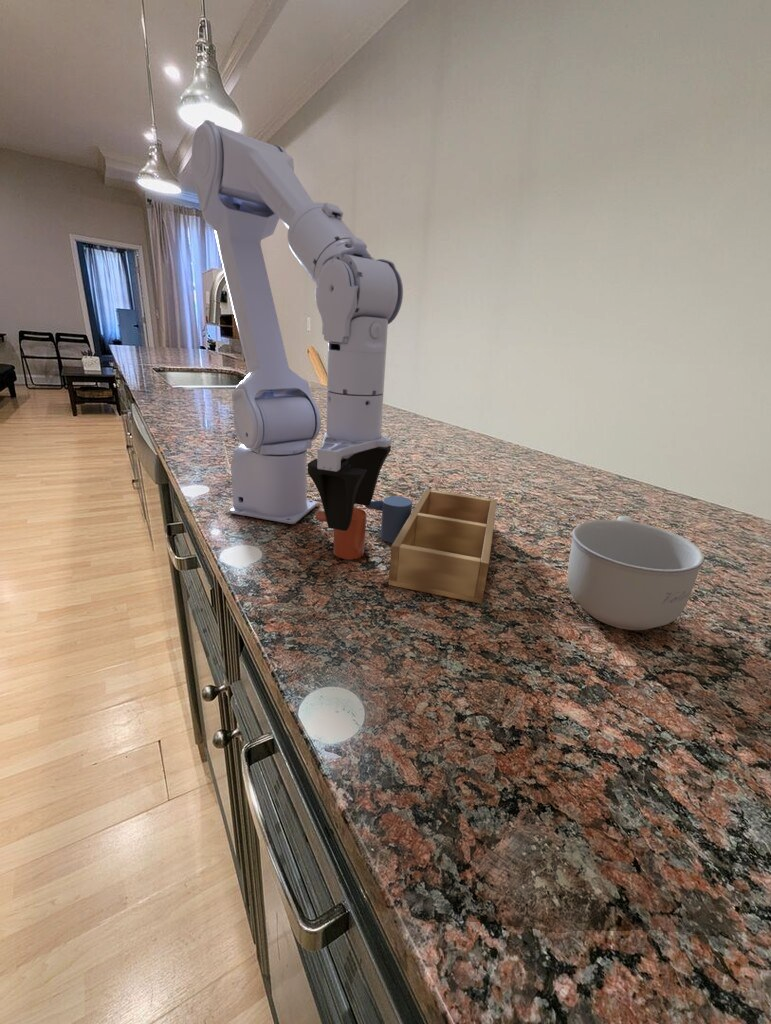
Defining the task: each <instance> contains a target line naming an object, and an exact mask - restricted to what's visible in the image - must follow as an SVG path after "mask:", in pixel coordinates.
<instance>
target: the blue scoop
mask: <svg viewBox="0 0 771 1024" xmlns="http://www.w3.org/2000/svg"><path fill="white" fill-rule="evenodd" d="M364 507H365V509H368V510H375V511H379V512H381V521H380V522H381V523H380V535H379V536H380V539H381V540H382V541H383V542H385V543H388V544H393V542H394V541H395V539H396V537H397V536H398V534H399V533H400V531H401V529H402V528H403V526H404V524H405V523H406V521H407V519H408V518H409V516H410V514H411V513H412V510H413V509H412V508H413V501H412V500H411V499H410V498H408V497H405V496H400V495H390V496H386V497H384V498H383V499H382V500H377V499H372V500H371V503H370V505H369V506H365V505H364Z"/></svg>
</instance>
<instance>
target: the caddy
mask: <svg viewBox="0 0 771 1024" xmlns="http://www.w3.org/2000/svg"><path fill="white" fill-rule="evenodd" d="M497 504H498V499H493V498H487V497H481V496H473V495H468V494H460V493H453V492H448V491H441V490H434V489H426V488H425V490H424V491H423V493H422V494H421V496H420V498H419V499H418V500H417V503H416V504H415V506H414V508H413V509H412V510H411V514H410V516H409V518H408V519H407V521H406V523H405V524H404V526H403V528H402V529H401V531H400V533H399V534H398V536H397V537H396V539H395V541H394V542H393V543H391V547H390V558H389V559H390V560H389V574H388V585H389V586H392V587H393V586H394V587H398V588H401V589H408V590H412V591H417V592H422V593H426V594H431V595H437V596H442V597H445V598H449V599H456V600H461V601H465V602H470V603H475V604H479V605H482V604H483V601H484V595H485V589H486V582H487V577H488V571H489V566H490V560H491V559H490V558H491V552H492V551H491V550H492V544H493V537H494V536H493V535H494V529H495V521H496V520H495V519H496V511H497Z"/></svg>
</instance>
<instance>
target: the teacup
mask: <svg viewBox="0 0 771 1024" xmlns="http://www.w3.org/2000/svg"><path fill="white" fill-rule="evenodd" d="M571 538H572V540H571V546H570V550H569V557H568V562H567V574H566V580H567V586H568V590H569V592H570V595H571V597H572V598H573V599H574V600H575V602H576V603H577V604H578V605H579V606H580V607H582V608H583V610H584V611H585V612H586V613H587V614H588V615H590V617H592V618H594V619H596V620H597V621H599V622H601V623H603V624H605V625H608V626H611V627H613V628H617V629H621V630H626V631H646V630H649V629H655V628H659V627H663V626H667V625H668V624H671V623H673V622H675V620H676V619H678V618H679V617H680V616H681V614H682V613H683V612H684V610H685V609H686V606H687V604H688V601H689V599H690V597H691V595H692V592H693V590H694V587H695V584H696V580H697V578H698V574H699V571H700V568H701V567H702V566H703V564H704V561H705V556H704V553H703V551H702V550H701V548H699V547H698V546H697V545H696V544H694V543H693V542H692V541H690V540H689V539H687V538H685V537H683V536H682V535H679V534H677V533H675V532H672V531H669V530H667V529H664V528H660V527H656V526H654V525H651V524H645V523H640V522H635V520H634V518H633V517H631V516H626V515H620V516H618V517H617V518H616V519H595V520H589V521H585V522H581V523H580V524H578V525H576V526H575V527H574V528H573V529H572V533H571Z"/></svg>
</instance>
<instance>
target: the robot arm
mask: <svg viewBox="0 0 771 1024" xmlns="http://www.w3.org/2000/svg"><path fill="white" fill-rule="evenodd" d="M190 171H191V176H192V180H193V184H194V187H195V188H194V189H195V193H196V197H197V199H198V205H199V207H200V211H201V215H202V218H203V221H205V222H206V223H207V224H208V225H209V226H210V227H211V228H212V229H213V231H214V235H215V240H216V244H217V248H218V252H219V257H220V261H221V264H222V269H223V273H224V274H223V275H224V278H225V282H226V286H227V290H228V294H229V298H230V302H231V308H232V312H233V315H234V319H235V324H236V328H237V333H238V336H239V341H240V345H241V349H242V353H243V358H244V361H245V366H246V371H247V375H246V376H245V377H244V378H243V379H242V380H241V381H240V382H239V383H238V384H237V385H236V386H235V388H234V389H233V391H232V394H231V400H232V406H233V426H234V430H235V434H236V436H237V438H238V440H239V442H240V443H241V444H240V445H239V446H238V447H237V448H236V449H235V450H234V451H233V452H234V453H233V455H232V458H231V464H230V475H231V489H232V504H233V507H232V508H230V514H234V515H239V516H244V517H245V516H246V517H249V518H256V519H260V520H266V521H272V522H277V523H283V524H289V525H295V524H296V523H297V522H299V521H300V520H301V519H302V518H304V517H305V516H306V515H307V514H308V513H309V512H311V511H312V510H313V509H314V508H316V507H317V506H318V501H317V500H312V499H308V497H307V496H308V493H307V492H308V491H307V490H308V487H307V486H308V484H307V483H308V482H307V481H308V475H309V477H310V478H311V480H312V481H313V484H314V485H315V487H316V489H317V492H318V494H319V497H320V500H321V504H322V507H323V511H324V512H325V516H326V520H327V522H326V523H327V527H328V529H332V530H334V529H337V530H343V531H347V530H348V529H349V526H350V523H351V519H352V514H353V508H355V505H360V506H364V507H365V506H369V505H370V503H371V500H373V498H374V494H375V490H376V486H377V482H378V479H379V476H380V472H381V470H382V468H383V466H384V463H385V461H386V459H387V457H388V456H389V454H390V453H391V449H392V443H393V438H392V437H390V436H386V435H385V436H384V435H383V434H382V426H383V424H382V423H383V409H384V407H383V406H384V392H385V378H386V377H385V375H386V359H387V346H388V345H387V343H388V329H389V328H388V327H389V325H390V324H391V323H392V322H393V321H394V320H395V319H396V317H397V316H398V315H399V313H400V310H401V308H402V303H403V299H404V298H403V297H404V286H403V280H402V278H401V275H400V272H399V271H398V270H397V268H396V265H395V263H394V262H393V261H391V260H388V259H384V258H378V259H376V258H375V257H373V256H371V253H369V251H368V250H367V248H368V245H367V243H366V242H365V241H364V240H363V239H362V238H359V237H356V236H355V234H354V233H353V231H352V230H351V229H350V227H348V225H347V224H346V223H345V222H344V220H342V218H343V216H344V211H342V209H341V208H340V207H339V206H338V205H336V204H332V203H329V202H317V201H315V202H314V201H313V199H312V198H311V196H310V194H309V193H308V191H307V190H306V189H305V187H304V185H303V183H302V182H301V181H300V179H299V178H298V176H297V174H296V173H295V164H294V157H292V156H291V155H290V154H288V152H287V150H286V149H285V148H284V147H283V146H281V145H278V144H271V143H268V142H265V141H262V140H260V139H256V138H254V137H251V136H248V135H246V134H244V133H243V134H242V133H240V132H237V131H234V130H232V129H228V128H225V127H224V126H220V125H217V124H216V123H215V122H214V121H211V120H209V119H204V120H202V121H201V122H200V123H199V125H198V126H197V127H196V129H195V130H194V133H193V137H192V143H191V160H190ZM279 221H281V222H282V224H283V225H284V226H285V227H286V228H287V244H288V248H289V249H290V251H291V253H292V254H293V256H294V257H295V258H296V260H297V261H298V263H299V264H300V265H301V266H302V268H303V269H304V271H305V272H306V273H307V275H308V276H309V278H310V279H311V280H312V282H313V283H314V284H315V285H316V287H315V288H314V297H315V304H316V307H317V309H318V313H319V315H320V317H321V326H322V327H321V333H322V335H323V339H324V341H325V342H327V367H326V369H327V377H326V379H327V380H326V382H327V383H326V431H325V432H324V435H323V440H322V444H321V446H320V447H318V448H317V449H316V450H317V455H316V457H317V458H314V459H313V460H310V461H309V462H308V461H307V460H308V457H307V456H308V454H307V453H308V450H309V449H312V445H313V444H312V443H313V441H315V440H316V438H318V436H319V434H320V430H321V425H322V417H321V411H320V409H319V406H318V404H317V402H316V401H315V399H314V397H313V395H312V393H311V388H310V385H309V382H308V381H306V380H305V379H304V378H303V377H301V376H300V375H298V374H297V373H296V372H295V371H294V370H292V369H291V368H290V367H289V363H288V357H287V354H286V350H285V349H286V348H285V345H284V340H283V338H282V337H283V336H282V331H281V328H280V324H279V319H278V315H277V309H276V306H275V302H274V298H273V293H272V288H271V284H270V279H269V275H268V271H267V267H266V262H265V258H264V254H263V249H262V244H261V242H262V241H263V240H265V239H266V238H268V237H270V236H273V235H274V233H275V231H276V228H277V226H278V223H279Z"/></svg>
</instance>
